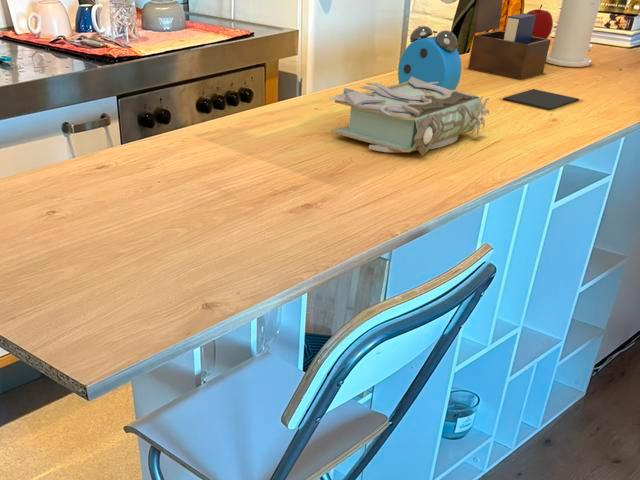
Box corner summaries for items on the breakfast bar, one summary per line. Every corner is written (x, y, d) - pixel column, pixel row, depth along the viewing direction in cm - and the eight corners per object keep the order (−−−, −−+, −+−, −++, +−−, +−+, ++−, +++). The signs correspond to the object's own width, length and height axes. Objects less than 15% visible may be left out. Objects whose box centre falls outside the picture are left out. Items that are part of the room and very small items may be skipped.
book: (513, 65, 215) (524, 13, 207) (524, 67, 213) (536, 15, 205) (496, 69, 210) (507, 16, 203) (508, 72, 209) (519, 18, 201)
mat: (533, 90, 197) (533, 88, 197) (578, 100, 191) (579, 98, 190) (502, 99, 189) (503, 97, 189) (549, 110, 183) (549, 108, 182)
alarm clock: (455, 108, 181) (469, 31, 171) (438, 113, 178) (451, 34, 168) (409, 96, 188) (420, 22, 178) (392, 100, 185) (402, 24, 175)
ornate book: (413, 170, 149) (496, 133, 166) (420, 113, 142) (506, 81, 159) (318, 143, 160) (404, 111, 177) (320, 90, 154) (410, 62, 171)
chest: (542, 73, 212) (550, 39, 207) (520, 79, 206) (527, 44, 201) (491, 63, 220) (497, 30, 215) (467, 68, 214) (473, 35, 209)
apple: (553, 43, 246) (562, 4, 240) (540, 46, 241) (548, 7, 234) (526, 38, 251) (534, 0, 244) (512, 42, 245) (519, 3, 239)
